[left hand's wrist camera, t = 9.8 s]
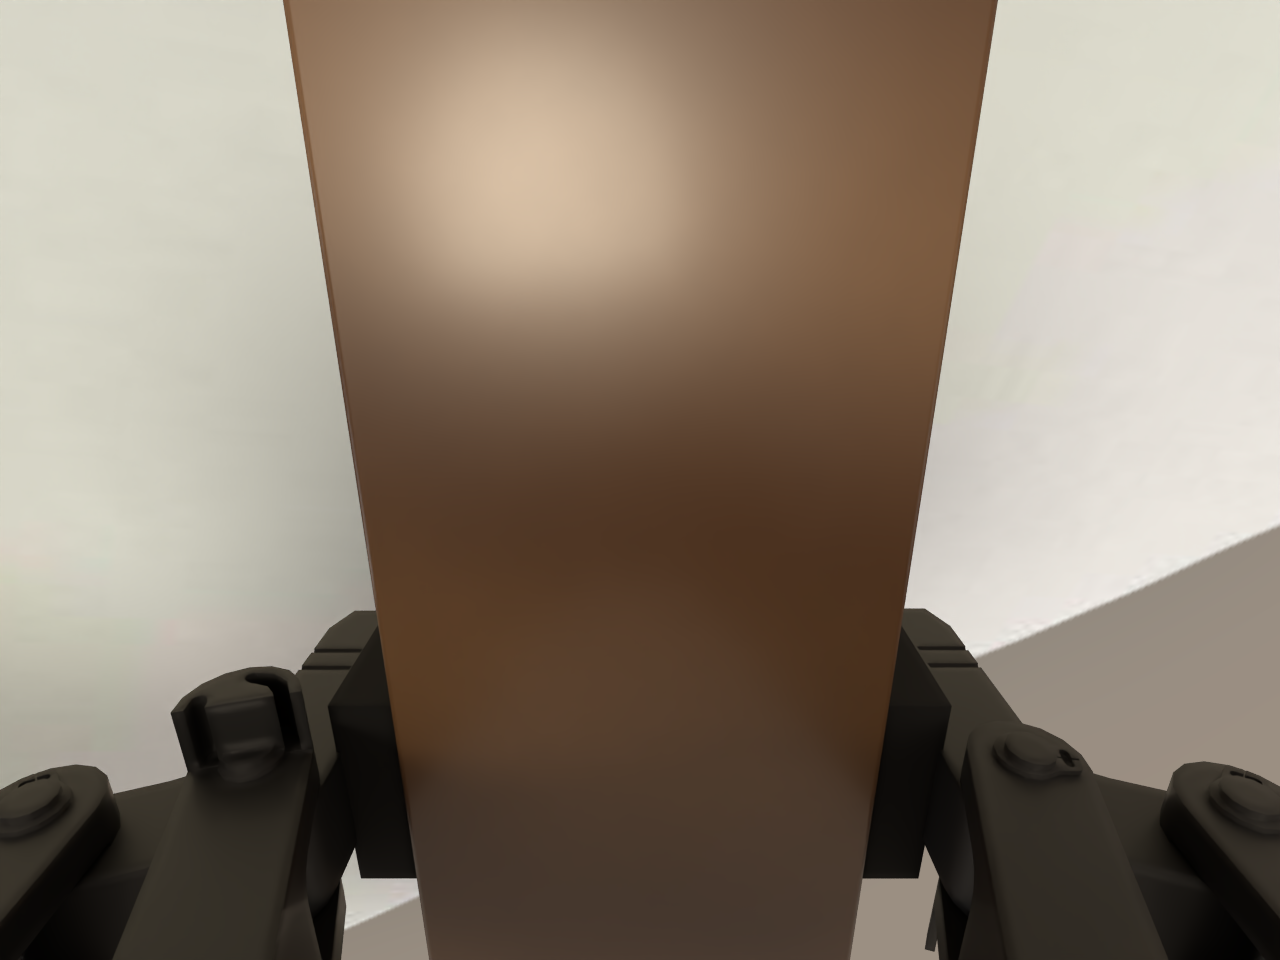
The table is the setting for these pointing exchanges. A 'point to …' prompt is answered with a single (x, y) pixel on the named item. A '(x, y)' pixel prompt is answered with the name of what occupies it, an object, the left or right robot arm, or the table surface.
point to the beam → (640, 438)
